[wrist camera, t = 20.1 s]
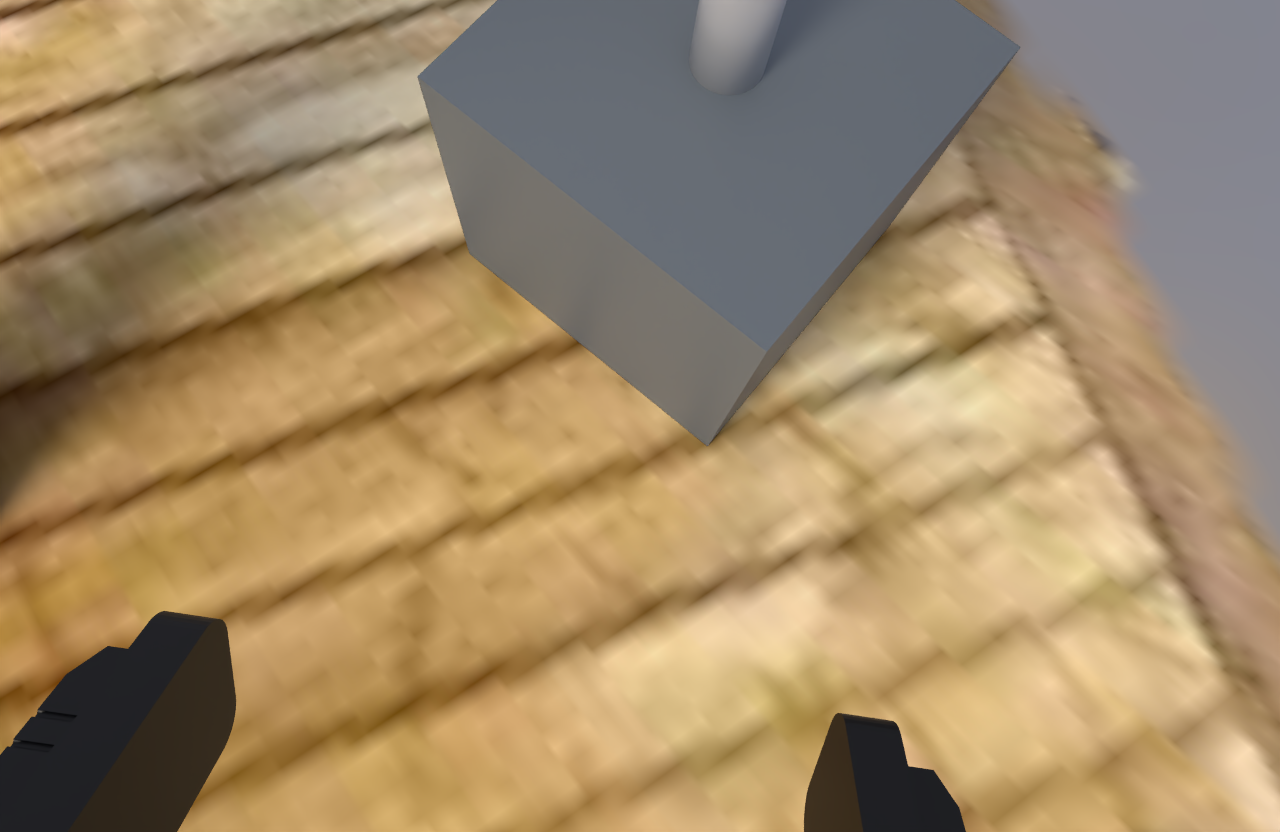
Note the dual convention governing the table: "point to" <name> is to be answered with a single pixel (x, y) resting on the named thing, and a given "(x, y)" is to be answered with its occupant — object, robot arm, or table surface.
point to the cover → (697, 166)
